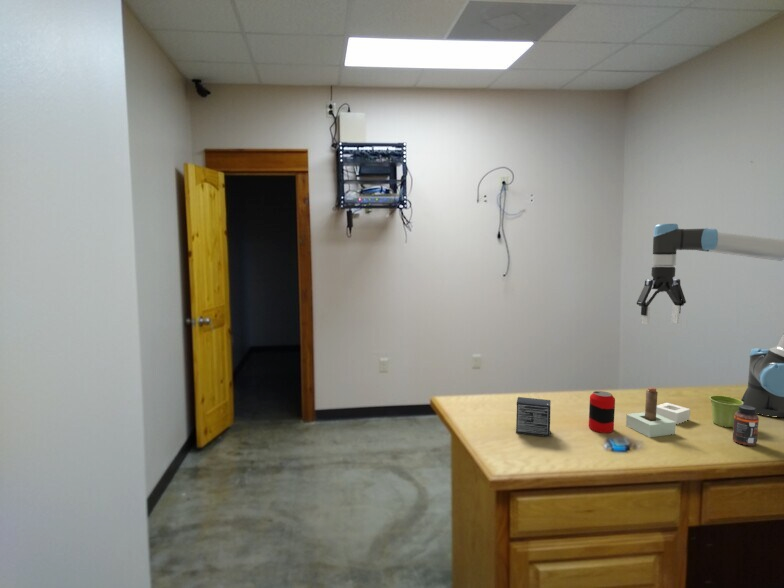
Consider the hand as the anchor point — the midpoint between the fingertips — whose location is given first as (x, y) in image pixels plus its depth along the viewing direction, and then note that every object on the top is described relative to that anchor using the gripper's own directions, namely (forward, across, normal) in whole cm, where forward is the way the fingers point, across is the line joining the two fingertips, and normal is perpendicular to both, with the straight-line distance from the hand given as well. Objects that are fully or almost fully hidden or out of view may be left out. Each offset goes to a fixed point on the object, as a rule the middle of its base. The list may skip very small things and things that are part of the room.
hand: (660, 323), depth 172 cm
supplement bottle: (+32, 0, +34) cm, 46 cm away
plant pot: (+32, -8, +21) cm, 39 cm away
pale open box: (+32, +20, +18) cm, 41 cm away
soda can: (+32, +35, +13) cm, 49 cm away
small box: (+32, +58, +9) cm, 67 cm away
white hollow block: (+32, +5, +12) cm, 34 cm away
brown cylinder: (+32, +20, +18) cm, 42 cm away
